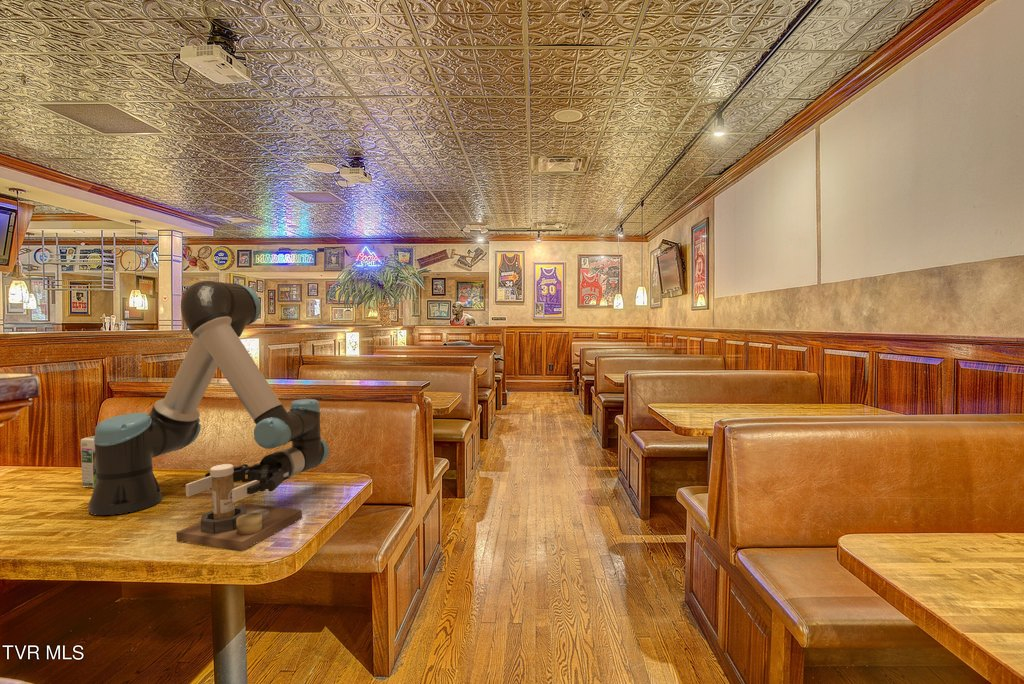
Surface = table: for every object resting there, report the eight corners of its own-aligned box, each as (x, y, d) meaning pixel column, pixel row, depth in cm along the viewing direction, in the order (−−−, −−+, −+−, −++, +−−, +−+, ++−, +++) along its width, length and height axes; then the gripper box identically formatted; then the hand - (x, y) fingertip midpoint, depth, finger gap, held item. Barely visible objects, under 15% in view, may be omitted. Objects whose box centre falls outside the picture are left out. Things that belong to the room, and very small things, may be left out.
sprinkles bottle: (232, 527, 110) (229, 468, 109) (209, 529, 109) (206, 470, 108) (239, 519, 115) (236, 462, 114) (217, 521, 114) (214, 464, 113)
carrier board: (176, 541, 108) (175, 518, 108) (242, 510, 125) (242, 491, 125) (242, 551, 103) (241, 527, 103) (302, 518, 120) (301, 497, 120)
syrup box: (81, 488, 144) (78, 438, 144) (102, 481, 150) (99, 434, 150) (96, 489, 143) (94, 439, 142) (116, 482, 149) (114, 435, 148)
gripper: (321, 483, 125) (255, 515, 105) (244, 475, 132) (168, 504, 112) (320, 454, 125) (254, 480, 105) (243, 448, 132) (166, 471, 111)
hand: (209, 493), depth 108 cm, fingers open, 12 cm apart
